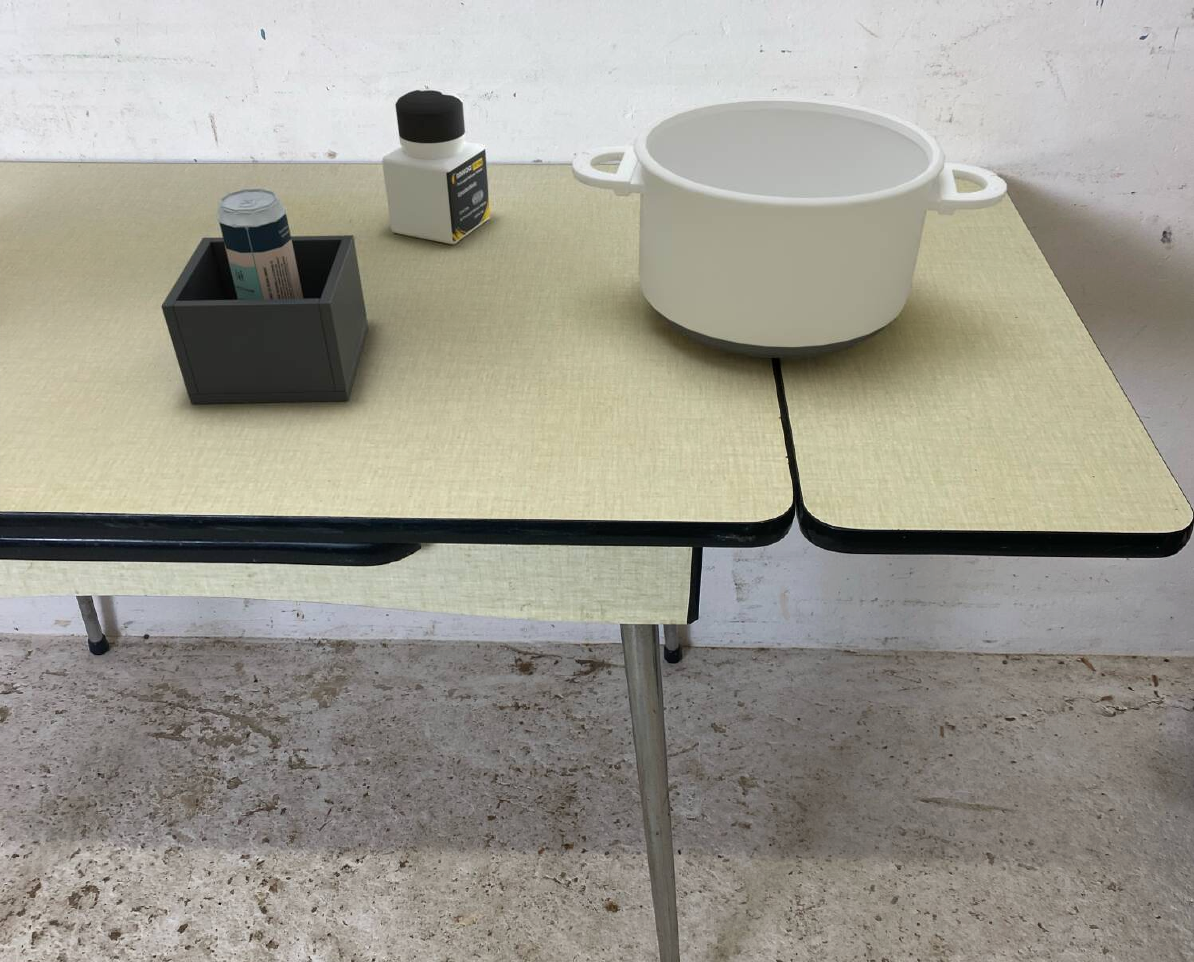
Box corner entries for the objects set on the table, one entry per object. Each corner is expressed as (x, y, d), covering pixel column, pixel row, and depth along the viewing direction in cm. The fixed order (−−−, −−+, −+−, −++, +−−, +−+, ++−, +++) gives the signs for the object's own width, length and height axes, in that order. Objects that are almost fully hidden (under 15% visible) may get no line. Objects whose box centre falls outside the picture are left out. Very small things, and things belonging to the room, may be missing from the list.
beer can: (318, 337, 83) (288, 185, 75) (310, 367, 80) (277, 211, 72) (257, 339, 83) (220, 187, 75) (246, 369, 79) (206, 213, 71)
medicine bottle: (454, 246, 98) (441, 111, 90) (390, 233, 100) (372, 100, 92) (491, 218, 103) (482, 88, 95) (429, 207, 105) (415, 79, 97)
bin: (190, 404, 77) (160, 305, 72) (226, 330, 86) (202, 237, 81) (348, 401, 77) (329, 302, 72) (368, 327, 86) (353, 234, 81)
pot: (958, 264, 95) (996, 104, 85) (986, 397, 77) (1037, 215, 68) (597, 241, 99) (596, 86, 90) (548, 362, 82) (541, 186, 73)
